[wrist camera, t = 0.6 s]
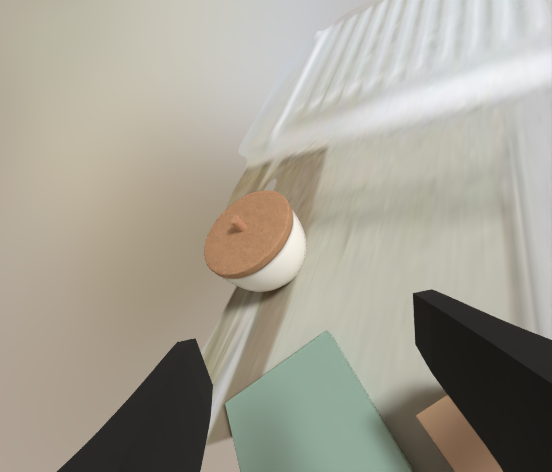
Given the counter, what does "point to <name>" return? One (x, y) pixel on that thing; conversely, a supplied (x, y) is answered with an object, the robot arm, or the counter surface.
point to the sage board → (311, 418)
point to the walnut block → (457, 438)
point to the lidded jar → (257, 243)
